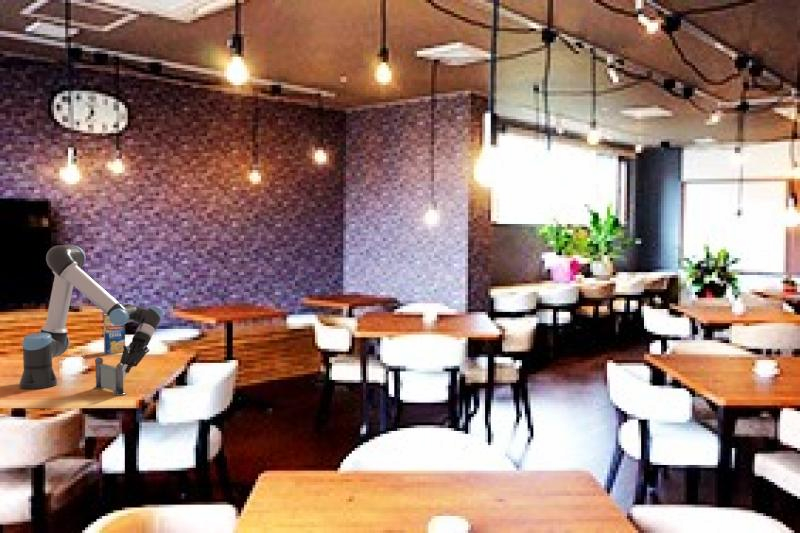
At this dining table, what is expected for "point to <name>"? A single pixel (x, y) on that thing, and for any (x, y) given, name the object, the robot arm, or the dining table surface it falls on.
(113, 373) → the gate
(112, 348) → the blue cracker box
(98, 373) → the hinge post
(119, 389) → the latch post
